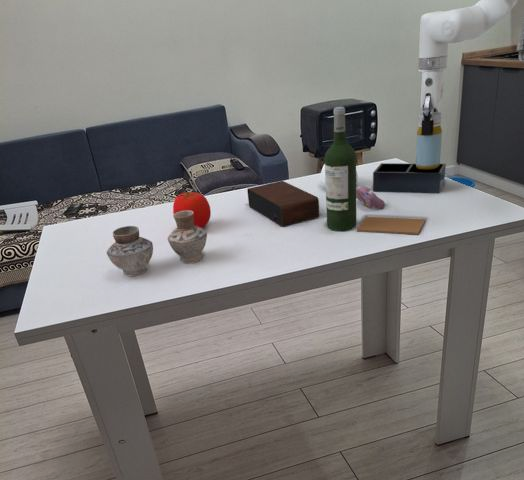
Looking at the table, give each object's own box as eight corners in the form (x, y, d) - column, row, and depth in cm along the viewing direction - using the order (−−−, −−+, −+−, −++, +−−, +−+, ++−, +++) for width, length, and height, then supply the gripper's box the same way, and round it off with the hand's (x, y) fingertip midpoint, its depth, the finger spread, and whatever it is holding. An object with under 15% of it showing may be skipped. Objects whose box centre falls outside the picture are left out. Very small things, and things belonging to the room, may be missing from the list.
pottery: (215, 262, 134) (208, 215, 127) (115, 285, 128) (102, 237, 122) (204, 247, 143) (197, 203, 137) (111, 268, 138) (98, 223, 131)
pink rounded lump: (357, 207, 162) (347, 189, 158) (369, 198, 162) (360, 179, 158) (374, 216, 154) (365, 197, 150) (387, 206, 154) (378, 186, 150)
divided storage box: (444, 183, 169) (445, 163, 166) (439, 193, 161) (440, 173, 158) (380, 181, 177) (381, 163, 173) (372, 191, 169) (373, 172, 166)
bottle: (425, 171, 159) (428, 117, 151) (410, 167, 165) (412, 115, 157) (444, 166, 161) (448, 113, 153) (429, 162, 167) (432, 110, 159)
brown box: (319, 217, 153) (318, 197, 150) (282, 227, 150) (281, 206, 147) (282, 198, 172) (281, 180, 169) (249, 206, 168) (247, 187, 165)
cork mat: (425, 221, 143) (425, 219, 143) (418, 235, 136) (418, 232, 135) (366, 218, 149) (366, 216, 149) (356, 231, 142) (356, 229, 142)
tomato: (190, 220, 162) (184, 185, 157) (219, 224, 158) (213, 187, 152) (169, 233, 155) (161, 196, 149) (198, 237, 150) (192, 199, 144)
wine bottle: (323, 230, 145) (318, 111, 129) (332, 220, 151) (329, 105, 134) (351, 232, 142) (349, 110, 125) (360, 222, 147) (359, 104, 131)
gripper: (442, 67, 140) (438, 138, 150) (451, 59, 153) (446, 125, 163) (412, 69, 143) (410, 139, 153) (424, 61, 156) (421, 126, 166)
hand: (429, 131), depth 158 cm, fingers closed on bottle, 7 cm apart
